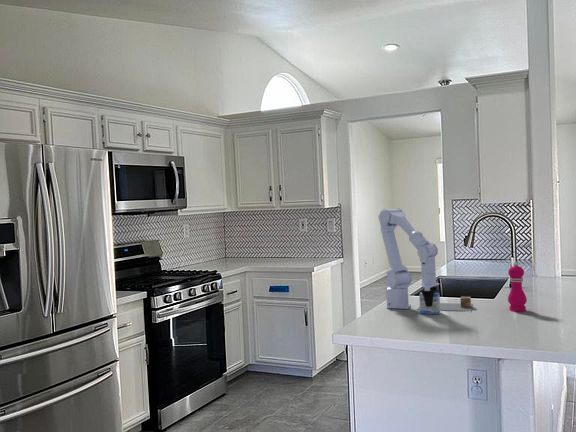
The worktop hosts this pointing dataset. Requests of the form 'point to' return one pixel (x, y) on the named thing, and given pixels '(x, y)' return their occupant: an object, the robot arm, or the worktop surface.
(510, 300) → the pepper mill
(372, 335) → the worktop surface
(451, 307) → the mat
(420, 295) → the medicine box
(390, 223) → the robot arm
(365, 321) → the worktop surface
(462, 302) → the walnut block
